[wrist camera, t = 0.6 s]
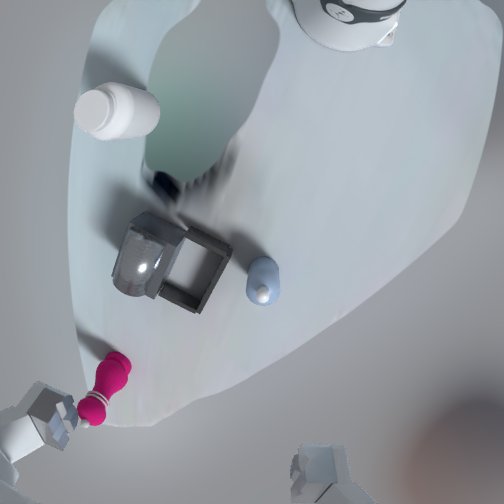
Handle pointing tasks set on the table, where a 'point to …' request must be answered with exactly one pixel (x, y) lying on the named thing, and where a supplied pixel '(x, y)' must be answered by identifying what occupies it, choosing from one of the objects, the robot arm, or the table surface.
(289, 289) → the table surface
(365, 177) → the table surface
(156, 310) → the table surface
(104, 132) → the pill bottle
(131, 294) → the dark grey piece
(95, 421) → the pepper mill
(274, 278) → the light blue bottle
